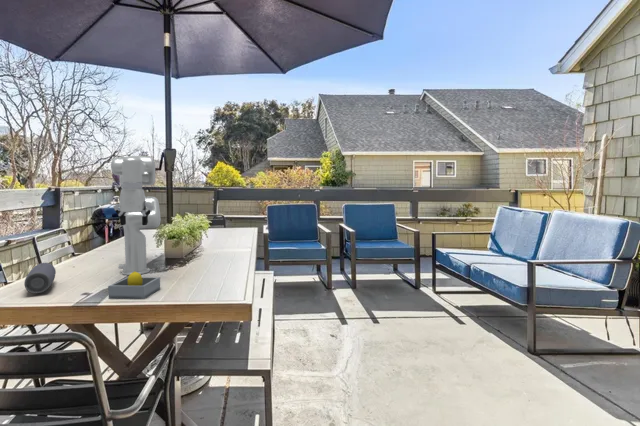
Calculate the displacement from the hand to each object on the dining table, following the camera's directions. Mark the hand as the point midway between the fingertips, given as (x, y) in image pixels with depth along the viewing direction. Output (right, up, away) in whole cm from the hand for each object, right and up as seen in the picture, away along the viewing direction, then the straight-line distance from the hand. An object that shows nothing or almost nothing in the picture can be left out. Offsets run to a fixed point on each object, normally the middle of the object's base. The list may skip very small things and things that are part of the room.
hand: (134, 225), depth 167 cm
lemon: (+8, -27, -14) cm, 31 cm away
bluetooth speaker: (-35, -27, -8) cm, 45 cm away
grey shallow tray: (+8, -28, -14) cm, 32 cm away
